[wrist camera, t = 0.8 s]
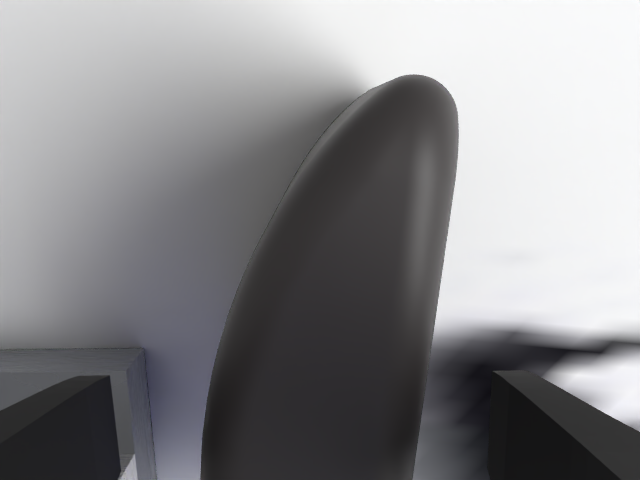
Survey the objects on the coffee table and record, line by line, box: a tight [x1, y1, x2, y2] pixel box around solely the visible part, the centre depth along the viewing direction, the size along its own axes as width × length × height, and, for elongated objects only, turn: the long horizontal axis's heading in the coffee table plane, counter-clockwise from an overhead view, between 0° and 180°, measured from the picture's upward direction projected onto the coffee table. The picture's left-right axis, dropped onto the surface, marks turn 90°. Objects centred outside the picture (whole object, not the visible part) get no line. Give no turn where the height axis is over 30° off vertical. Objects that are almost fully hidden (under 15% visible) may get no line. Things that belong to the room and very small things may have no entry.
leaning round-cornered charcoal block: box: [201, 75, 459, 480], centre depth 13 cm, size 13×4×8 cm, turn 175°
